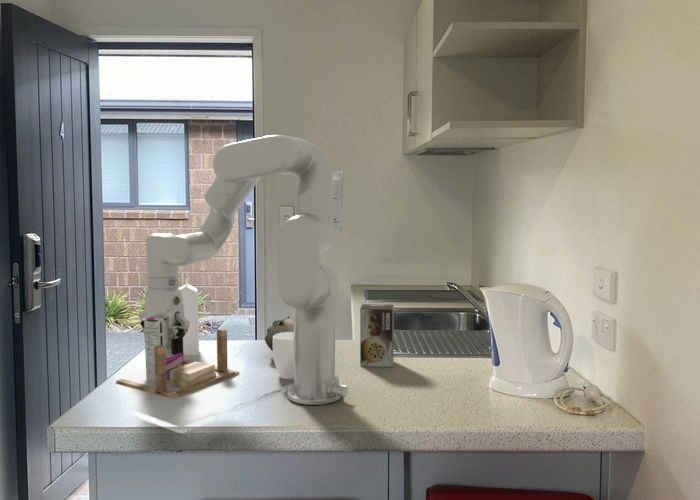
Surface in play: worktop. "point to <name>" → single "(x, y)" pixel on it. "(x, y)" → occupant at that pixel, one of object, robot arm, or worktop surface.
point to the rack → (161, 364)
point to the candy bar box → (155, 337)
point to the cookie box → (376, 335)
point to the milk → (190, 319)
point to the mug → (284, 354)
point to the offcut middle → (188, 383)
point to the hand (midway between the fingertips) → (163, 350)
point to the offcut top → (192, 371)
